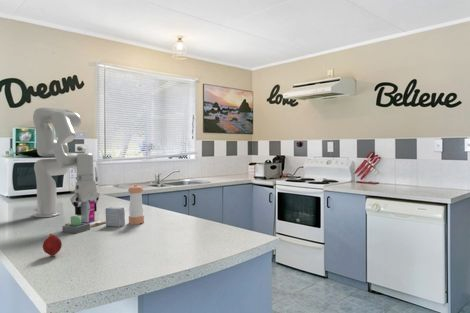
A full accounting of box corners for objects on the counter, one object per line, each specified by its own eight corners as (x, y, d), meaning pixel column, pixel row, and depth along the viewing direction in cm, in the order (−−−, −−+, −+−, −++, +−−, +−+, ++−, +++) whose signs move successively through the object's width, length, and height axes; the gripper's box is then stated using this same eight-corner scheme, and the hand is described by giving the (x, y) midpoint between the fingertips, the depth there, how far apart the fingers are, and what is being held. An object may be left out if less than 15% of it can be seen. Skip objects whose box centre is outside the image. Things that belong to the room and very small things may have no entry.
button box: (62, 231, 153) (62, 226, 153) (77, 227, 160) (76, 222, 160) (75, 233, 150) (75, 227, 150) (89, 229, 157) (89, 223, 157)
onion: (47, 253, 121) (47, 231, 121) (64, 253, 122) (64, 230, 122) (39, 259, 116) (39, 235, 115) (57, 258, 116) (56, 235, 116)
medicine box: (125, 225, 165) (124, 207, 164) (119, 227, 160) (118, 208, 160) (111, 224, 167) (111, 206, 167) (105, 226, 163) (105, 208, 163)
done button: (68, 228, 154) (68, 217, 153) (76, 226, 158) (76, 215, 158) (75, 229, 152) (75, 218, 152) (83, 226, 156) (83, 216, 156)
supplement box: (87, 223, 164) (87, 200, 164) (77, 223, 166) (76, 199, 166) (95, 221, 170) (94, 198, 170) (85, 220, 172) (84, 197, 171)
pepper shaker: (128, 225, 164) (127, 185, 164) (129, 221, 171) (128, 183, 171) (144, 223, 166) (143, 184, 166) (143, 220, 173) (143, 183, 173)
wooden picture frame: (65, 225, 166) (65, 222, 166) (83, 220, 176) (83, 218, 176) (90, 227, 160) (89, 225, 160) (107, 222, 170) (107, 220, 170)
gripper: (76, 180, 158) (77, 216, 158) (104, 176, 174) (105, 210, 174) (64, 179, 161) (65, 215, 161) (93, 176, 176) (93, 209, 177)
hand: (86, 212), depth 168 cm, fingers open, 9 cm apart
